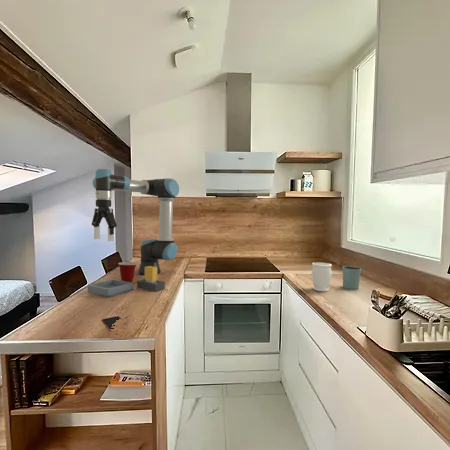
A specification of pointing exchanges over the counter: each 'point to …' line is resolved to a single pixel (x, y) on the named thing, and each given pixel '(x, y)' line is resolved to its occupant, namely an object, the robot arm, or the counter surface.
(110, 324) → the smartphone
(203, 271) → the counter surface
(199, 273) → the counter surface
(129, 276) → the plastic cup
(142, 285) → the block
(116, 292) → the parts tray
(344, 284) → the teal tapered cup
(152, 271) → the block
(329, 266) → the jar
